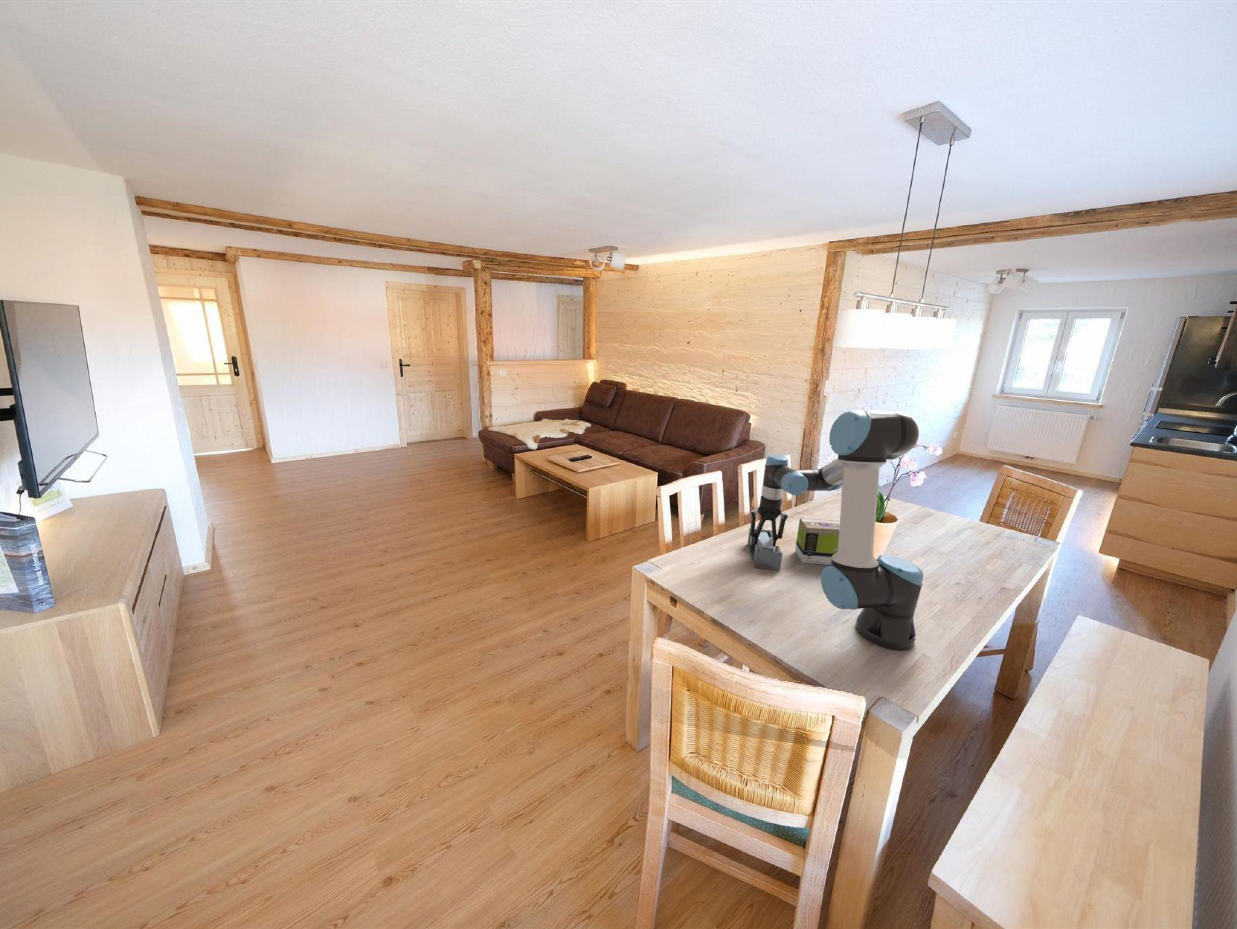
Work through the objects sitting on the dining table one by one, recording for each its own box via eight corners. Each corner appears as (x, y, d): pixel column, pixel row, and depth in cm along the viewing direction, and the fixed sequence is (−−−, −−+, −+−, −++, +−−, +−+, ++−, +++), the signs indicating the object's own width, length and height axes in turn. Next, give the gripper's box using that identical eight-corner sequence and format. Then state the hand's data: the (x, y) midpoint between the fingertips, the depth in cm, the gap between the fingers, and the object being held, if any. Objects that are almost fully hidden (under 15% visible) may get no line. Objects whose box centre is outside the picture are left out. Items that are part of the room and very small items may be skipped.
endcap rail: (779, 570, 170) (782, 553, 168) (754, 568, 171) (756, 550, 169) (770, 546, 189) (772, 530, 187) (747, 544, 190) (749, 528, 188)
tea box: (833, 554, 184) (839, 520, 180) (842, 567, 175) (849, 530, 170) (793, 551, 185) (799, 516, 181) (800, 563, 176) (807, 527, 172)
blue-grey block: (771, 562, 173) (774, 548, 171) (760, 561, 173) (762, 547, 172) (764, 546, 186) (766, 532, 185) (754, 545, 187) (756, 531, 185)
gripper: (793, 495, 175) (784, 551, 182) (746, 491, 177) (739, 546, 184) (798, 502, 168) (788, 560, 175) (749, 497, 170) (741, 555, 177)
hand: (763, 553), depth 179 cm, fingers closed on blue-grey block, 4 cm apart
